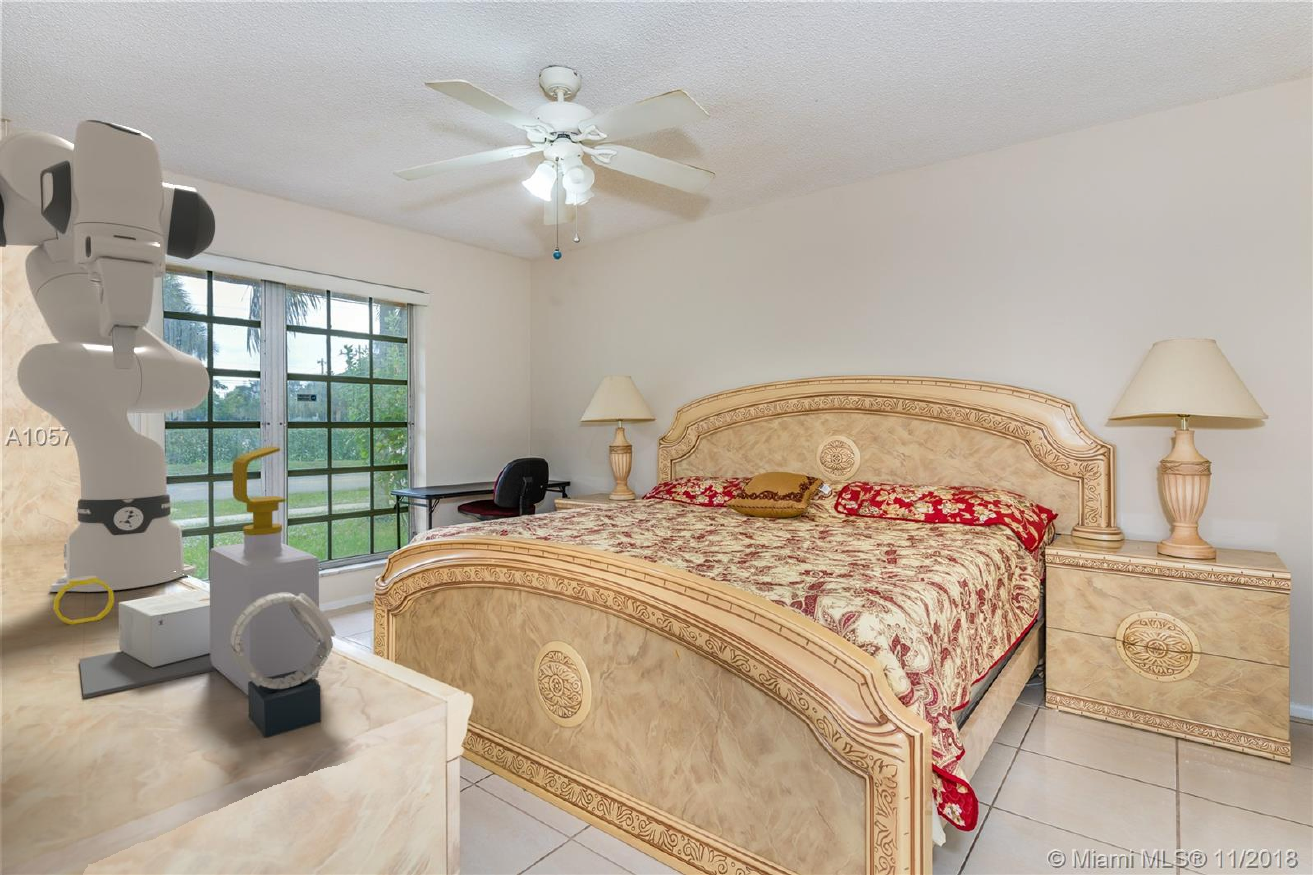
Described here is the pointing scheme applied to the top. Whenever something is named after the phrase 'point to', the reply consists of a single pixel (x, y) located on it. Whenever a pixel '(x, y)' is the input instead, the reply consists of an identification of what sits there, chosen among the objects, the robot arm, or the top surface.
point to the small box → (166, 627)
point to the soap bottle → (260, 590)
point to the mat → (133, 672)
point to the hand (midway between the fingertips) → (123, 368)
